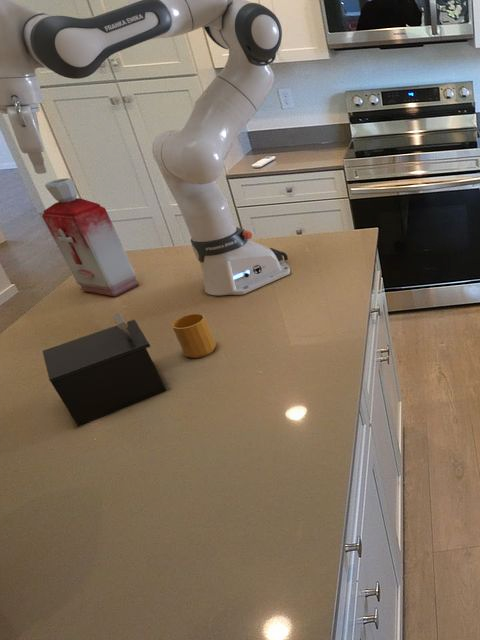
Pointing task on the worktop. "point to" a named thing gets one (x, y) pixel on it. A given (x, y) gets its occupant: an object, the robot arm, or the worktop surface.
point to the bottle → (88, 241)
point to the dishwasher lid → (94, 349)
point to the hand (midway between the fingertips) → (40, 167)
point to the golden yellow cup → (194, 335)
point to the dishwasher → (109, 386)
